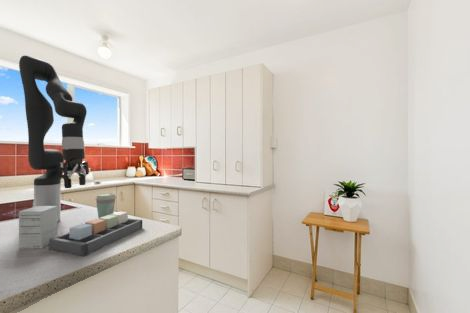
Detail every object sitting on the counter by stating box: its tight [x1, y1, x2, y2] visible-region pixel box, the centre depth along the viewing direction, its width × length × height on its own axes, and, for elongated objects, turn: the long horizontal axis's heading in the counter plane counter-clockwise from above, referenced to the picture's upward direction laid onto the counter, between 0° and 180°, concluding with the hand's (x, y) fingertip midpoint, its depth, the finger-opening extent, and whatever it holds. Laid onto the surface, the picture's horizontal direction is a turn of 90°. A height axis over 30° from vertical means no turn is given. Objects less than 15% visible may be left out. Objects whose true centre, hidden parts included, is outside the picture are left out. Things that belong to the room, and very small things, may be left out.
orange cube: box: [84, 218, 105, 234], centre depth 78 cm, size 4×4×4 cm
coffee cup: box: [95, 192, 117, 219], centre depth 102 cm, size 9×8×12 cm
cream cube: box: [111, 211, 129, 224], centre depth 88 cm, size 4×4×4 cm
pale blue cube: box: [68, 223, 92, 240], centre depth 72 cm, size 4×4×4 cm
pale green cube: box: [98, 215, 117, 229], centre depth 83 cm, size 4×4×4 cm
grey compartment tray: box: [48, 218, 143, 257], centre depth 80 cm, size 15×26×4 cm, turn 164°
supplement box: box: [18, 206, 59, 250], centre depth 74 cm, size 7×7×13 cm
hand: (75, 186), depth 90 cm, fingers open, 8 cm apart
